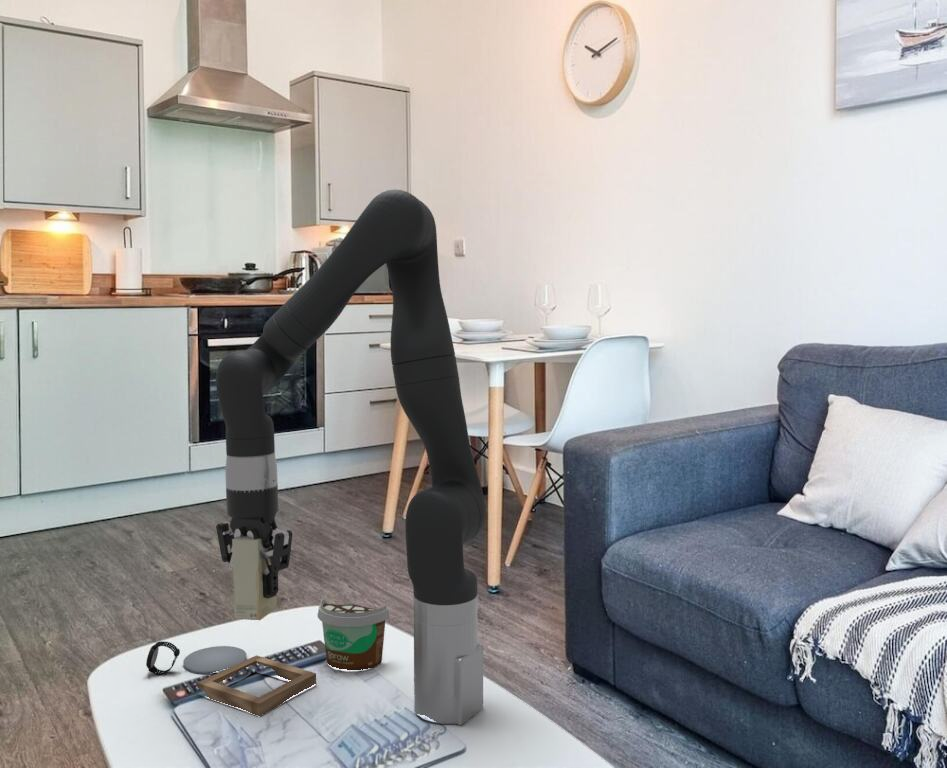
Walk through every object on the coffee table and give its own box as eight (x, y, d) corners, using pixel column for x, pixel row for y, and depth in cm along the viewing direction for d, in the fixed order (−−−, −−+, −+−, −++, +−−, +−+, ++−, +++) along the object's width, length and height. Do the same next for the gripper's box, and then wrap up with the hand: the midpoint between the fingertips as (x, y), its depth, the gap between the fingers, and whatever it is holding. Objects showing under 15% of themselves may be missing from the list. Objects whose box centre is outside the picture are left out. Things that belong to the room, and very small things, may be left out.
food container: (304, 669, 139) (303, 609, 138) (322, 655, 145) (321, 597, 144) (374, 679, 135) (374, 617, 134) (390, 664, 141) (389, 604, 140)
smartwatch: (157, 666, 140) (156, 637, 140) (183, 671, 139) (183, 641, 138) (140, 677, 136) (139, 646, 136) (167, 681, 135) (166, 650, 134)
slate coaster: (259, 657, 144) (259, 654, 144) (212, 679, 135) (212, 675, 135) (217, 645, 149) (217, 641, 149) (170, 665, 141) (170, 661, 141)
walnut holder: (316, 685, 133) (316, 673, 133) (259, 716, 123) (258, 703, 123) (256, 667, 140) (256, 655, 140) (197, 695, 130) (197, 682, 130)
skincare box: (260, 621, 127) (258, 540, 126) (232, 619, 128) (230, 539, 126) (278, 607, 133) (277, 530, 132) (251, 605, 134) (250, 528, 133)
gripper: (305, 483, 128) (308, 594, 129) (237, 475, 135) (241, 579, 137) (268, 492, 122) (272, 609, 123) (199, 483, 129) (203, 593, 130)
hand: (255, 593), depth 130 cm, fingers closed on skincare box, 5 cm apart
